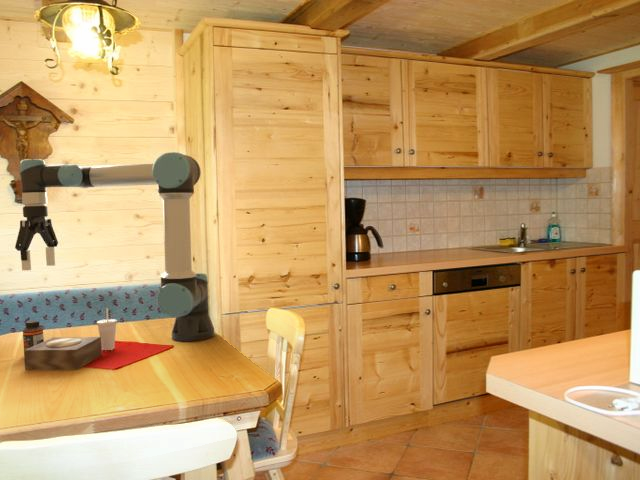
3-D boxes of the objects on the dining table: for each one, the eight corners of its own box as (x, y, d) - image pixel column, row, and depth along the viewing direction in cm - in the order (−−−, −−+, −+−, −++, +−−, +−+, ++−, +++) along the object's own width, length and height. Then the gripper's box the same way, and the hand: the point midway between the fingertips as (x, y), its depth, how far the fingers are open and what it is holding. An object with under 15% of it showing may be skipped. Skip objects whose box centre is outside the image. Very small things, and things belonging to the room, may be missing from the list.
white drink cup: (105, 353, 187) (102, 310, 186) (94, 350, 190) (91, 309, 190) (122, 348, 192) (120, 307, 191) (111, 346, 196) (109, 305, 195)
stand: (101, 355, 184) (100, 335, 184) (77, 369, 168) (75, 348, 168) (54, 355, 185) (52, 336, 185) (25, 370, 169) (23, 349, 169)
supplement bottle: (20, 356, 185) (17, 322, 184) (36, 352, 190) (34, 318, 190) (32, 358, 182) (29, 323, 182) (48, 354, 188) (46, 320, 187)
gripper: (46, 205, 206) (50, 263, 207) (-1, 206, 181) (4, 272, 183) (66, 204, 205) (69, 263, 206) (21, 205, 180) (26, 272, 182)
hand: (39, 267), depth 195 cm, fingers open, 13 cm apart
